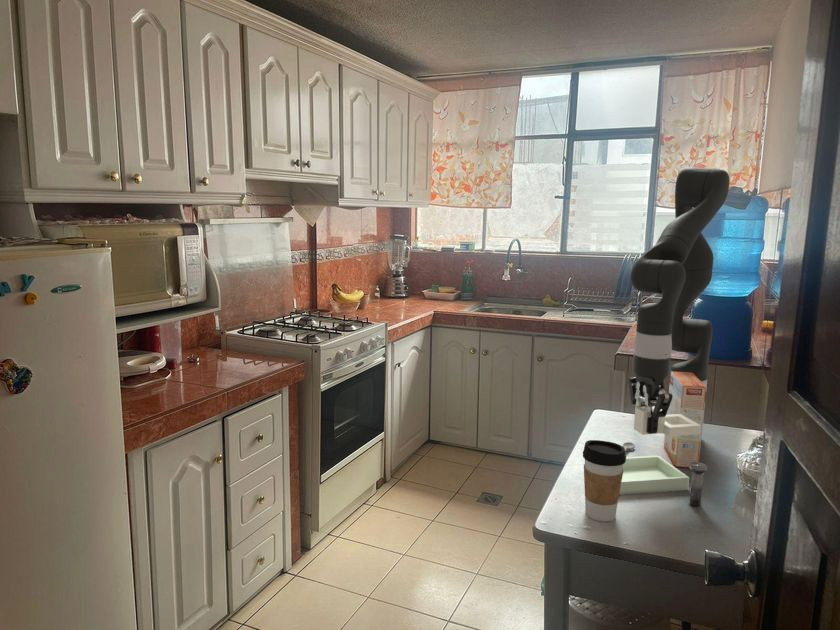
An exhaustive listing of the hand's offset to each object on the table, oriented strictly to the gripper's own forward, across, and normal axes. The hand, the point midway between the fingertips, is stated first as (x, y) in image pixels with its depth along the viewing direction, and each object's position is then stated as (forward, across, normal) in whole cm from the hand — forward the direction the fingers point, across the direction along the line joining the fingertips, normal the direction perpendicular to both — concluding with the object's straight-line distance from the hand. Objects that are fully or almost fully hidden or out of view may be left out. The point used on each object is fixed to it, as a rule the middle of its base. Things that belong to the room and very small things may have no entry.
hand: (646, 429), depth 134 cm
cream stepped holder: (0, 0, -4) cm, 4 cm away
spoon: (+16, +21, -7) cm, 27 cm away
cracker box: (+15, +16, -20) cm, 30 cm away
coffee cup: (+15, -8, +14) cm, 22 cm away
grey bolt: (+15, -8, -8) cm, 18 cm away
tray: (+15, +5, -2) cm, 16 cm away
